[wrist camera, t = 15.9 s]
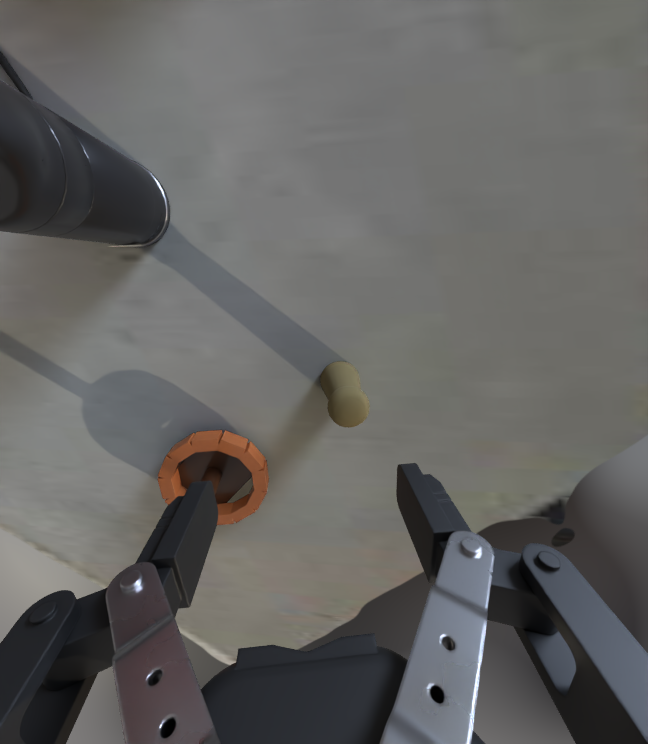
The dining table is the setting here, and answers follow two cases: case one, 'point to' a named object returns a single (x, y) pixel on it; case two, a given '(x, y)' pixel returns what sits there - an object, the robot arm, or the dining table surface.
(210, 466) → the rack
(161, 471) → the hoop
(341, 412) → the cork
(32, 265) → the dining table surface
